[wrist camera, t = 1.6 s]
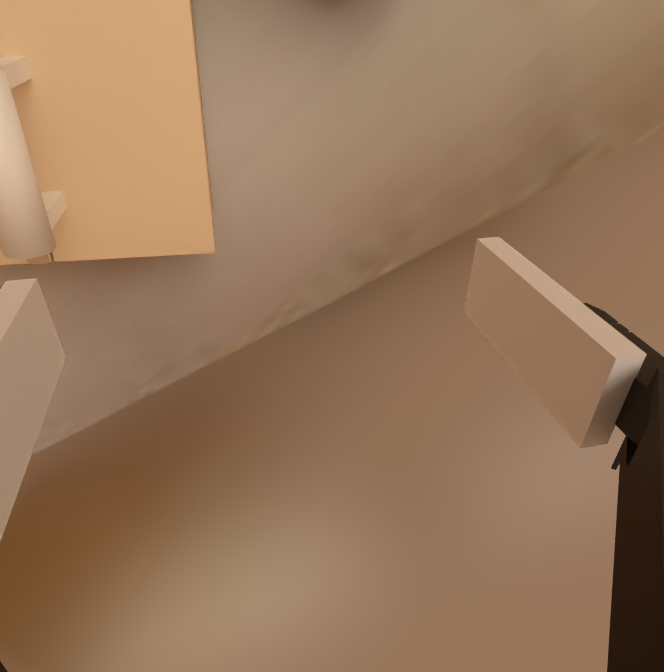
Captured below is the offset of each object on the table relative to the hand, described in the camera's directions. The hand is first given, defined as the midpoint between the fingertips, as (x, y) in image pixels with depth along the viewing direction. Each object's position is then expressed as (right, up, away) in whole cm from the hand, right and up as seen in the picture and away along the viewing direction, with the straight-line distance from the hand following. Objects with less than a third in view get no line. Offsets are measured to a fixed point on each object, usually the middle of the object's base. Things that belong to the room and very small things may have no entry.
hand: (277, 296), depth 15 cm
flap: (-11, +11, +14) cm, 21 cm away
